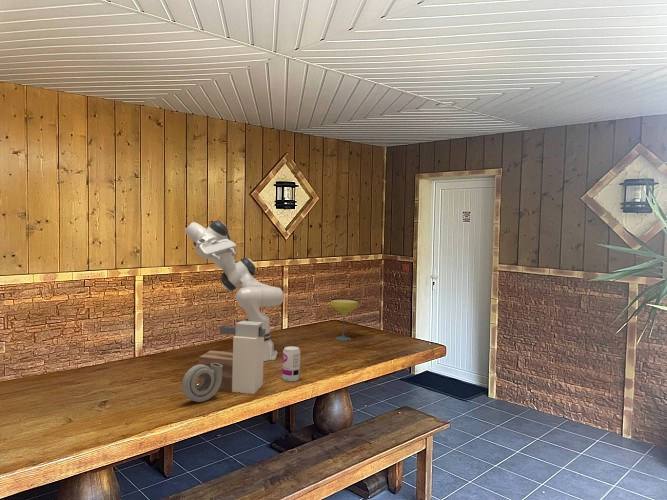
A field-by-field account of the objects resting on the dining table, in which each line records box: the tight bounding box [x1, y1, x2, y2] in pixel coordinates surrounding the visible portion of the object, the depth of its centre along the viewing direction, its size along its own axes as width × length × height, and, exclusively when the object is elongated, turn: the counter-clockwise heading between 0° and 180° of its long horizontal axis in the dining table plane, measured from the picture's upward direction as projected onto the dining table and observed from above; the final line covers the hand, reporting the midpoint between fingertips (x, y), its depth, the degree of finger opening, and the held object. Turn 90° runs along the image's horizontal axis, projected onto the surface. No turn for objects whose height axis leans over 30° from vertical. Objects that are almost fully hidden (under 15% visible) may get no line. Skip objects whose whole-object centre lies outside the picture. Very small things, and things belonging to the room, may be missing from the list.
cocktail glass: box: [329, 297, 359, 342], centre depth 326 cm, size 18×18×25 cm
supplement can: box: [281, 345, 301, 383], centre depth 239 cm, size 8×8×15 cm
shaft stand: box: [232, 320, 264, 395], centre depth 224 cm, size 12×10×29 cm
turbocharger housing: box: [181, 363, 223, 403], centre depth 208 cm, size 17×6×15 cm, turn 137°
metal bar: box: [219, 325, 266, 337], centre depth 224 cm, size 3×20×3 cm, turn 80°
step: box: [198, 350, 233, 393], centre depth 227 cm, size 12×16×14 cm
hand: (227, 257), depth 247 cm, fingers open, 8 cm apart
